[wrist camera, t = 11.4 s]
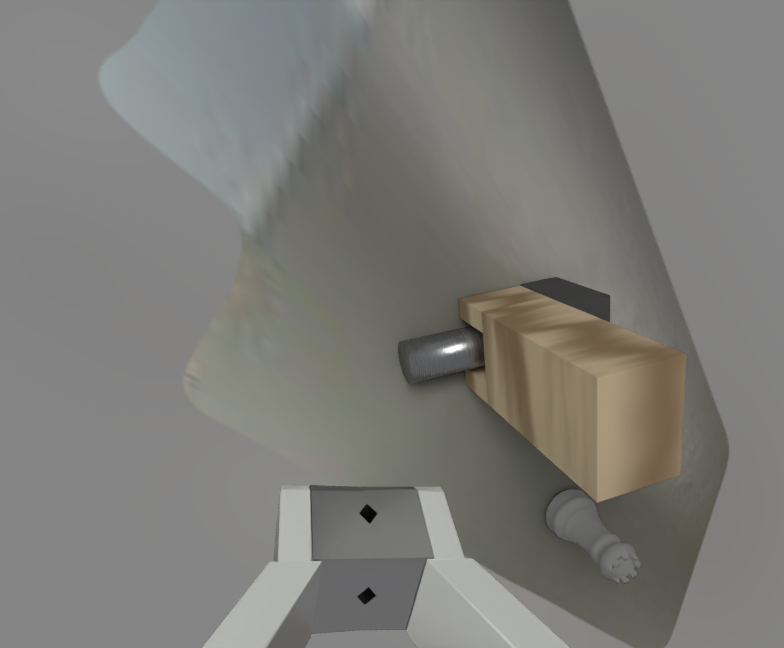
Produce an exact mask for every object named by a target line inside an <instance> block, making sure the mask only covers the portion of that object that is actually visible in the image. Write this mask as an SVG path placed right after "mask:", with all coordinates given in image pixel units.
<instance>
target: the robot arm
mask: <svg viewBox="0 0 784 648" xmlns="http://www.w3.org/2000/svg"><path fill="white" fill-rule="evenodd" d="M355 630H407V631H406V632H407V634H408V635H409V636H410V638H411V639H412V641H413V642H414V643H415V645H416V646H417V648H570V647H568V646H567V645H566V644H565V643H564V642H563V641H562V640H561V639H560V638H559V637H558V636H557V635H555V634H554V633H553V632H552V631H551V630H550V629H549V628H548V627H547V626H546V625H545V624H544V623H542V622H541V621H540V620H539V619H538V618H537V617H536V616H535V615H534V614H533V613H532V612H531V611H529V610H528V609H527V608H526V607H525V606H524V605H523V604H522V603H521V602H520V601H519V600H518V599H516V598H515V597H514V596H513V595H512V594H511V593H510V592H509V591H508V590H507V589H506V588H505V587H503V586H502V585H501V584H500V583H499V582H498V581H497V580H496V579H495V578H494V577H492V576H491V575H490V574H489V573H488V572H487V571H486V570H485V569H484V568H483V567H482V566H481V565H480V564H479V563H478V562H476V561H475V560H474V559H473V558H465V556H464V553H463V549H462V546H461V543H460V540H459V537H458V534H457V531H456V528H455V525H454V522H453V518H452V515H451V512H450V509H449V506H448V503H447V500H446V497H445V494H444V491H443V490H442V488H441V487H414V488H413V487H346V486H319V485H310V486H300V485H281V488H280V496H279V506H278V516H277V526H276V537H275V549H274V562H269V563H268V564H267V566H266V567H265V568H264V569H263V571H262V572H261V573H260V575H259V576H258V577H257V578H256V580H255V581H254V582H253V584H252V585H251V586H250V587H249V589H248V590H247V591H246V593H245V594H244V595H243V597H242V598H241V599H240V600H239V601H238V603H237V604H236V605H235V607H234V608H233V609H232V611H231V612H230V613H229V614H228V616H227V617H226V618H225V620H224V621H223V622H222V623H221V625H220V626H219V627H218V629H217V630H216V631H215V632H214V634H213V635H212V636H211V637H210V639H209V640H208V641H207V642H206V644H205V645H204V646H203V648H305V646H306V644H307V643H308V641H309V639H310V637H311V634H316V633H328V632H342V631H355Z"/></svg>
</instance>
